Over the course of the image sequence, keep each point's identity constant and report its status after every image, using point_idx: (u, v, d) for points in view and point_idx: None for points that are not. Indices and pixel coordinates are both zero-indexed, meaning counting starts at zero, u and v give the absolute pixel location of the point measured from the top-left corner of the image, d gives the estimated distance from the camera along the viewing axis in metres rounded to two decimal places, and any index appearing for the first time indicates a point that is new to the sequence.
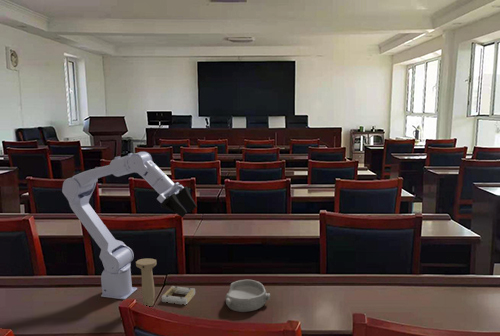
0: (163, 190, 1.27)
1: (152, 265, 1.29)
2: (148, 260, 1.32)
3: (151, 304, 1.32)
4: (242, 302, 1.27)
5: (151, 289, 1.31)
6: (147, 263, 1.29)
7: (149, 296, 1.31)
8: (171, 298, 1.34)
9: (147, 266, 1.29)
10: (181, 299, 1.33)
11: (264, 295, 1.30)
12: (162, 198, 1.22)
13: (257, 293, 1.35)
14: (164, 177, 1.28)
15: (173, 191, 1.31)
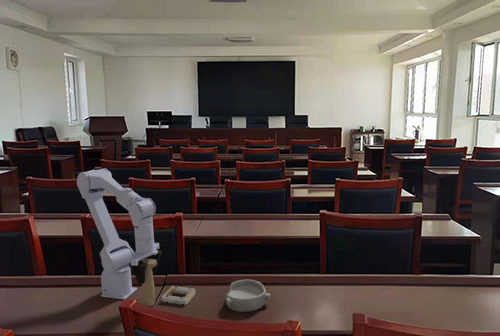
0: (141, 251, 1.27)
1: (152, 265, 1.29)
2: (148, 260, 1.32)
3: (151, 304, 1.32)
4: (242, 302, 1.27)
5: (151, 289, 1.31)
6: None
7: (149, 296, 1.31)
8: (171, 298, 1.34)
9: (147, 266, 1.29)
10: (181, 299, 1.33)
11: (264, 295, 1.30)
12: (135, 263, 1.24)
13: (257, 293, 1.35)
14: (150, 241, 1.28)
15: None
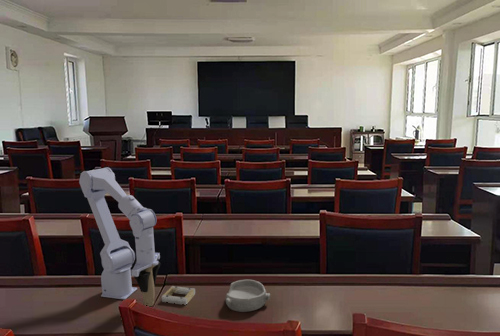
0: (142, 261, 1.28)
1: (152, 265, 1.29)
2: None
3: (151, 304, 1.32)
4: (242, 302, 1.27)
5: (151, 289, 1.31)
6: None
7: (149, 296, 1.31)
8: (171, 298, 1.34)
9: None
10: (181, 299, 1.33)
11: (264, 295, 1.30)
12: (135, 274, 1.24)
13: (257, 293, 1.35)
14: (151, 251, 1.29)
15: None
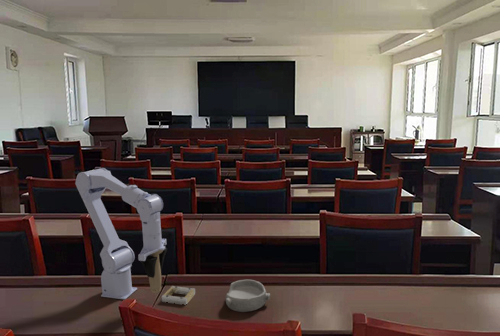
0: (148, 246, 1.28)
1: (159, 250, 1.29)
2: None
3: (158, 290, 1.32)
4: (242, 302, 1.27)
5: (158, 275, 1.31)
6: None
7: (155, 282, 1.31)
8: (171, 298, 1.34)
9: None
10: (181, 299, 1.33)
11: (264, 295, 1.30)
12: (142, 259, 1.24)
13: (257, 293, 1.35)
14: (158, 236, 1.29)
15: None
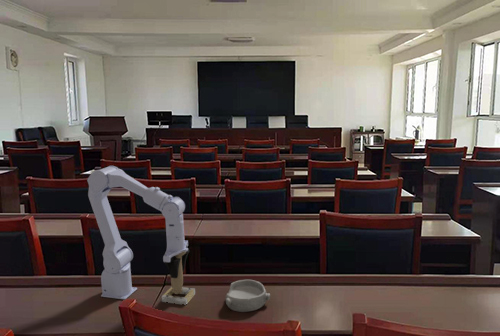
0: (172, 248, 1.32)
1: (182, 252, 1.33)
2: None
3: (179, 291, 1.36)
4: (242, 302, 1.27)
5: (180, 276, 1.35)
6: None
7: (177, 283, 1.35)
8: (171, 298, 1.34)
9: None
10: (181, 299, 1.33)
11: (264, 295, 1.30)
12: (167, 260, 1.28)
13: (257, 293, 1.35)
14: (181, 238, 1.32)
15: None
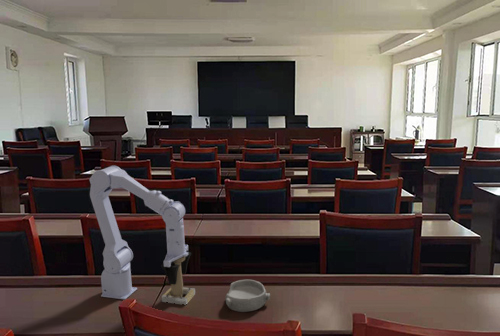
0: (173, 252, 1.32)
1: (181, 259, 1.33)
2: None
3: None
4: (242, 302, 1.27)
5: (180, 283, 1.35)
6: None
7: (177, 290, 1.35)
8: (171, 298, 1.34)
9: (176, 260, 1.32)
10: (181, 299, 1.33)
11: (264, 295, 1.30)
12: (167, 265, 1.28)
13: (257, 293, 1.35)
14: (182, 243, 1.33)
15: None
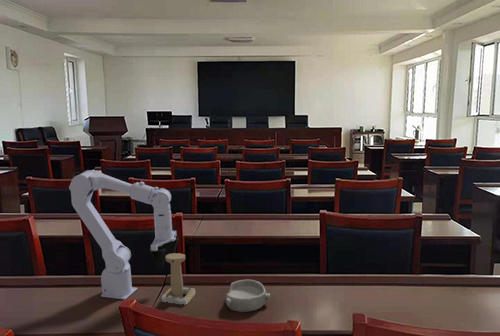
0: (160, 237, 1.36)
1: (181, 259, 1.33)
2: (177, 255, 1.36)
3: None
4: (242, 302, 1.27)
5: (180, 283, 1.35)
6: (176, 258, 1.33)
7: (177, 290, 1.35)
8: (171, 298, 1.34)
9: (176, 260, 1.32)
10: (181, 299, 1.33)
11: (264, 295, 1.30)
12: (154, 249, 1.32)
13: (257, 293, 1.35)
14: (169, 228, 1.37)
15: None
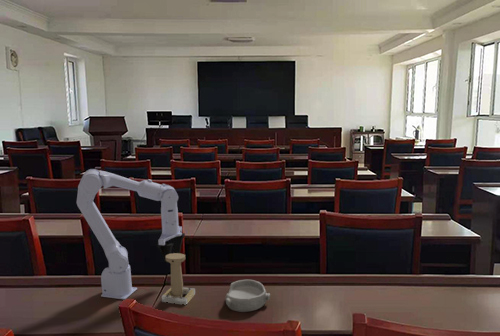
0: (167, 232, 1.41)
1: (181, 259, 1.33)
2: (177, 255, 1.36)
3: None
4: (242, 302, 1.27)
5: (180, 283, 1.35)
6: (176, 257, 1.33)
7: (177, 290, 1.35)
8: (171, 298, 1.34)
9: (176, 260, 1.32)
10: (181, 299, 1.33)
11: (264, 295, 1.30)
12: (162, 243, 1.37)
13: (257, 293, 1.35)
14: (176, 223, 1.42)
15: None
